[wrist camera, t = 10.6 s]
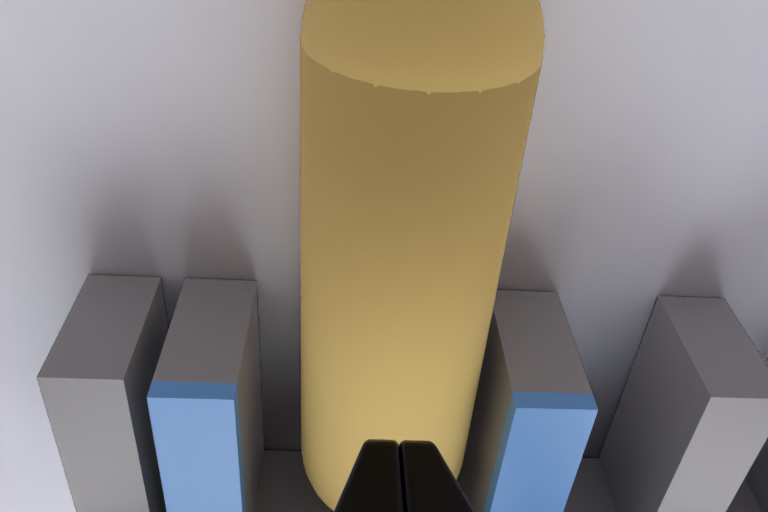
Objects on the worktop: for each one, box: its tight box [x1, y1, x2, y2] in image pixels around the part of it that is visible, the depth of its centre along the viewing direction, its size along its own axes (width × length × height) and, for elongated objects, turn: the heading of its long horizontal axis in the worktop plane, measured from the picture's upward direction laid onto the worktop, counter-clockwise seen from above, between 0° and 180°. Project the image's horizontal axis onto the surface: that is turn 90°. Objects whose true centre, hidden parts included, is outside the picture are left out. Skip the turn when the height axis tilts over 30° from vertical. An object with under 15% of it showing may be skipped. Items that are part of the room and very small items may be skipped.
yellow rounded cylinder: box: [300, 0, 545, 511], centre depth 14 cm, size 13×4×4 cm, turn 176°
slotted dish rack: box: [37, 274, 768, 512], centre depth 16 cm, size 8×25×5 cm, turn 86°
